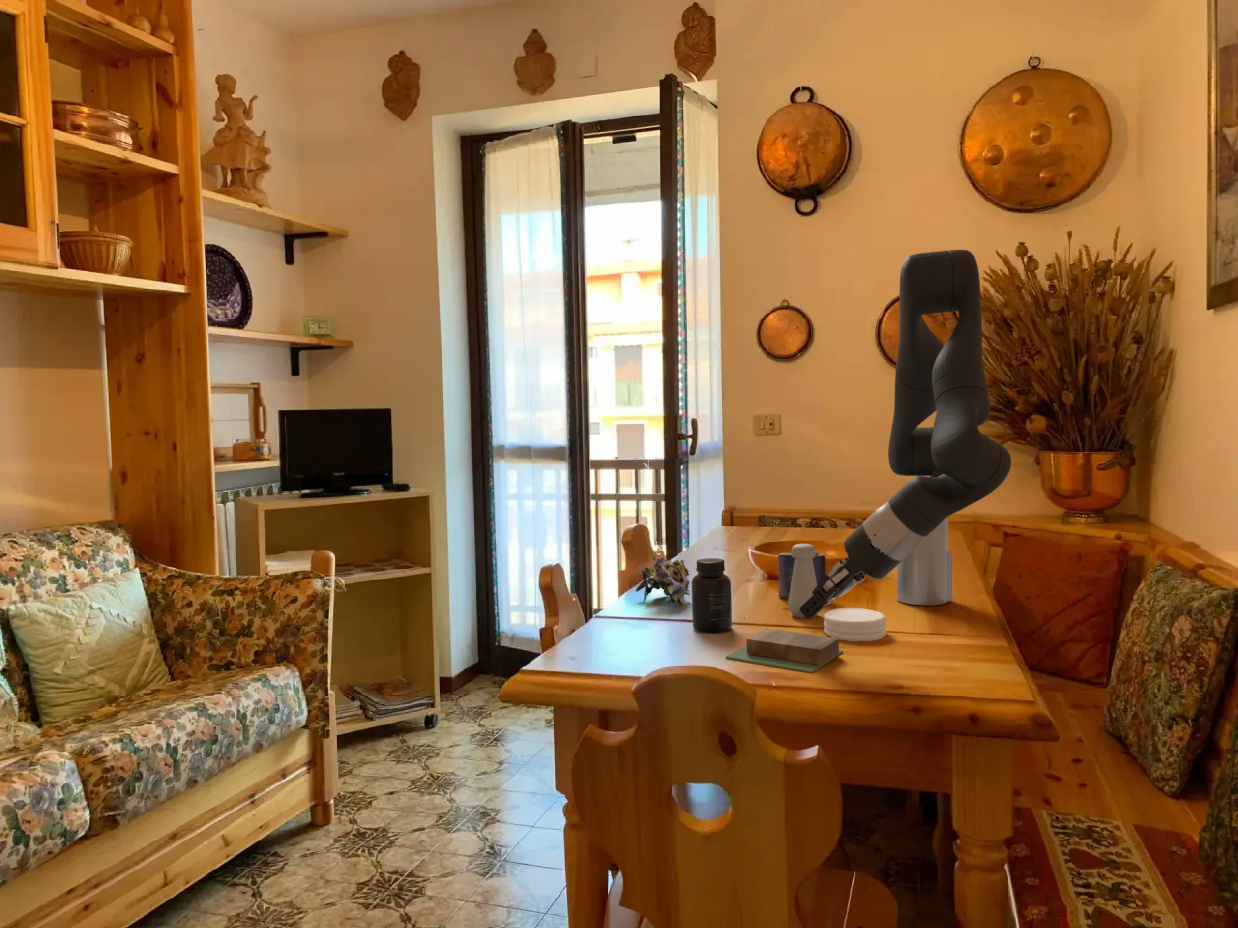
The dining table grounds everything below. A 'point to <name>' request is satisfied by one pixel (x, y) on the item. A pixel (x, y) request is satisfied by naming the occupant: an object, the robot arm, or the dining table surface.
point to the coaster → (855, 624)
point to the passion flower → (667, 579)
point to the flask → (787, 571)
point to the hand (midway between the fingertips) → (805, 613)
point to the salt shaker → (802, 578)
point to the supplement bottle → (711, 597)
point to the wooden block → (793, 646)
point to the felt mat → (775, 661)
